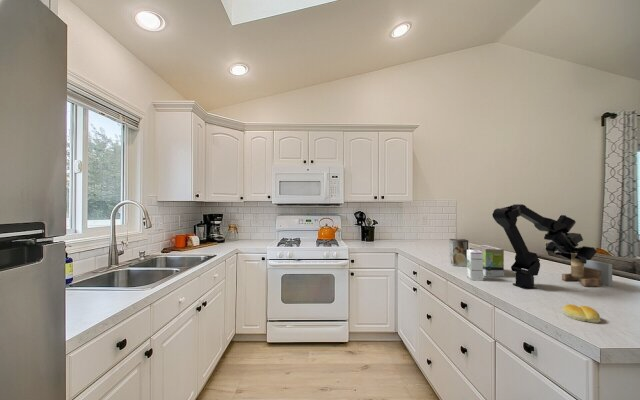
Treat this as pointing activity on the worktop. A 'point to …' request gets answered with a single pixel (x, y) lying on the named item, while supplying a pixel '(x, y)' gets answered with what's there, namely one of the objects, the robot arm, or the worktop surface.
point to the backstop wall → (602, 271)
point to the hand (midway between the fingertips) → (579, 261)
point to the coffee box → (458, 252)
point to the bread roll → (581, 313)
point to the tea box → (491, 260)
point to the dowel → (576, 267)
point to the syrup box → (475, 265)
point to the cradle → (586, 277)
